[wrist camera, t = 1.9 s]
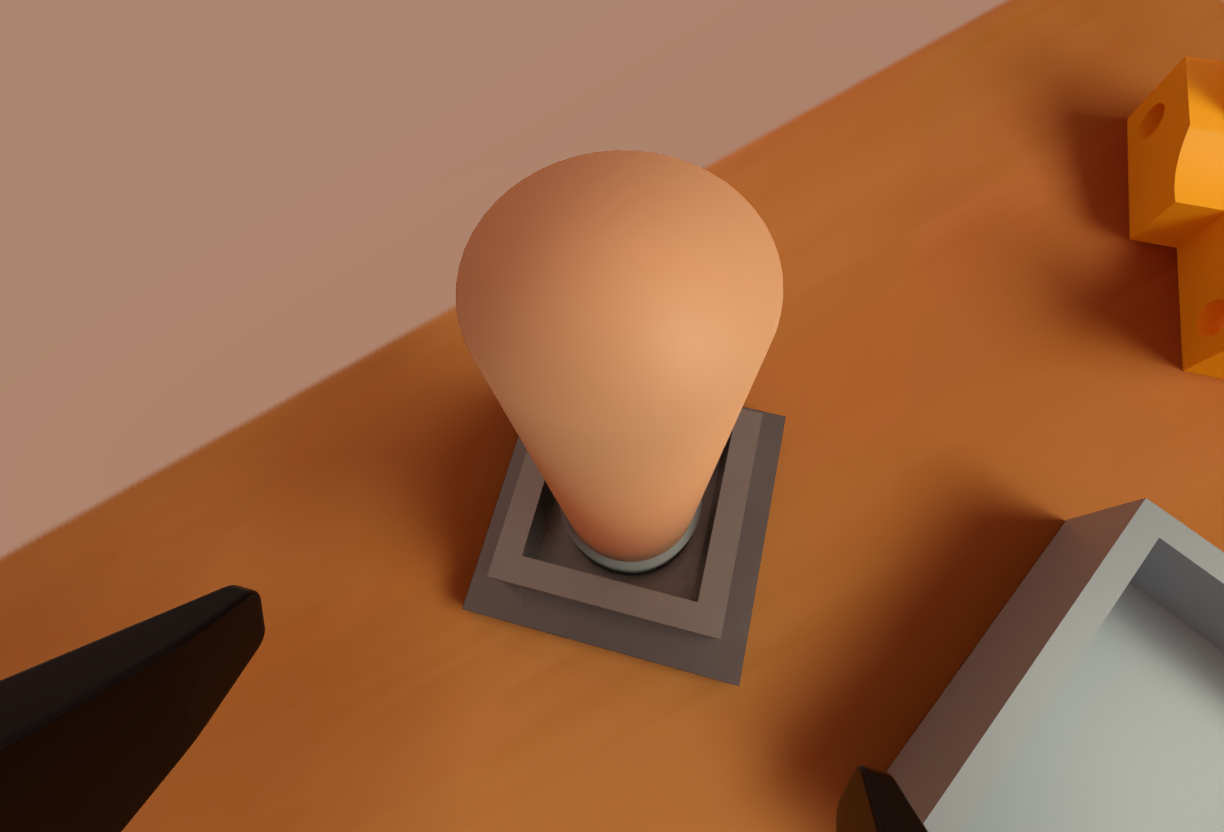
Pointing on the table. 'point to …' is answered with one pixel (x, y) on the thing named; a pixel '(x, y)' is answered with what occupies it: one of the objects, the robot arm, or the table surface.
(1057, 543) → the bin
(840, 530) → the table surface
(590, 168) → the tan rounded tapered piece
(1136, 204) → the pipe clamp
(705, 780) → the table surface
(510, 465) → the stud base
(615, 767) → the table surface
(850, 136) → the table surface
